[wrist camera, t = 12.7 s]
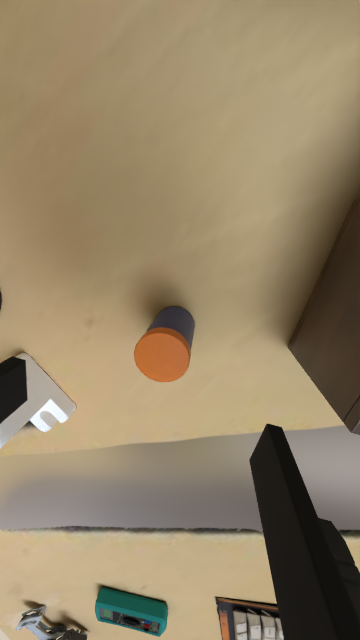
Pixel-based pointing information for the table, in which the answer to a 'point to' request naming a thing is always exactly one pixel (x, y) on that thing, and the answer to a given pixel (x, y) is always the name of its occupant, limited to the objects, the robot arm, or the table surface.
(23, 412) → the cable organizer
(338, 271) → the cabinet
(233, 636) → the mechanical keyboard
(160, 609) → the digital multimeter
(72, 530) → the table surface
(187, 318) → the glue stick
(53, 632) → the bicycle component
